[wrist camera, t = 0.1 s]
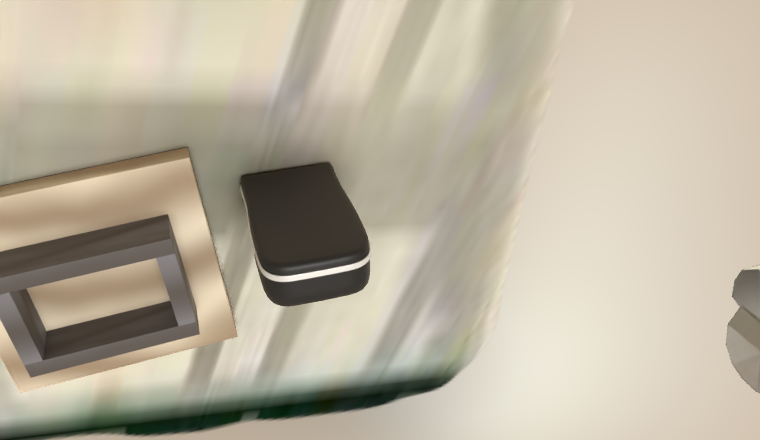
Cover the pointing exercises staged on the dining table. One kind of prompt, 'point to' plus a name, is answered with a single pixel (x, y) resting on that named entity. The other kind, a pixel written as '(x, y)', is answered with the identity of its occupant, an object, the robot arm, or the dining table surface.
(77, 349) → the dock
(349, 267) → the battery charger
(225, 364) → the dining table surface
